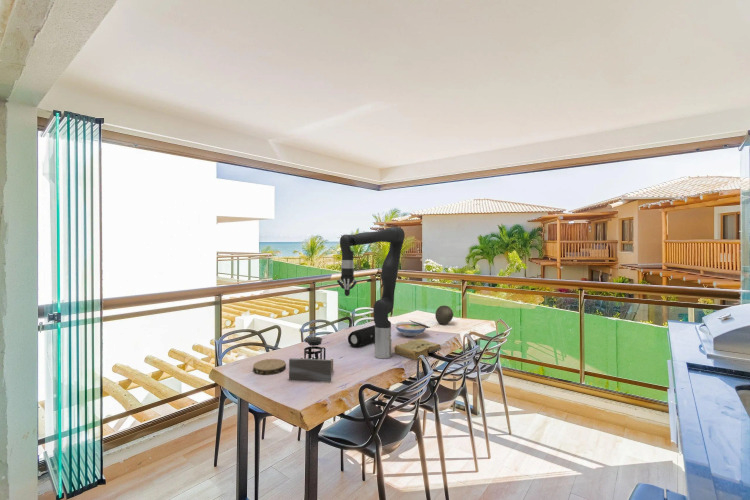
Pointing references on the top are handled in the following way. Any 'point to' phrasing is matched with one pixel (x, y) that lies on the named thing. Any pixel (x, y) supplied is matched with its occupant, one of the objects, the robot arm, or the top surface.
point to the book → (416, 349)
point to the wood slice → (269, 366)
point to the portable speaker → (362, 336)
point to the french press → (313, 346)
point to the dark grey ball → (444, 314)
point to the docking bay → (310, 369)
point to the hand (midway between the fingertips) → (347, 295)
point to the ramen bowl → (411, 328)
